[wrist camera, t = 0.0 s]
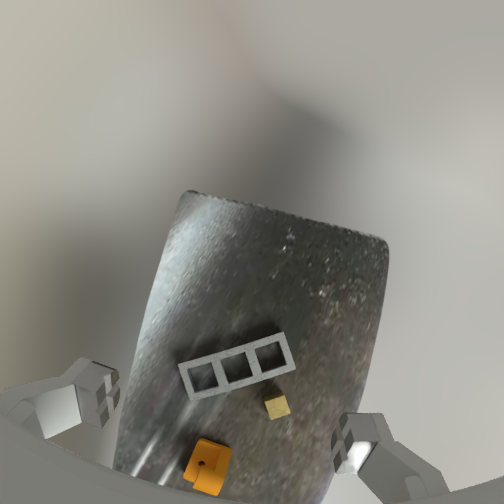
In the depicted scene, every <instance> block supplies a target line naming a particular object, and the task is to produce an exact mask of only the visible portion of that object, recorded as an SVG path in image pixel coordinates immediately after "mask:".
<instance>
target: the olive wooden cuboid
mask: <svg viewBox="0 0 504 504" xmlns="http://www.w3.org/2000/svg"><path fill="white" fill-rule="evenodd" d="M263 399H264V402H265V404H266V407H267V410H268V413H269V416H270V418H271V420H272V419H275V418H278V417H281V416H284V415H287V414H290V410H289V407H288V404H287V401H286V398H285V395H284V394H283V393H282V391H280V392H277V393H274V394H271V395H268V396H265V397H263Z"/></svg>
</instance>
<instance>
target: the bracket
mask: <svg viewBox="0 0 504 504" xmlns="http://www.w3.org/2000/svg"><path fill="white" fill-rule="evenodd" d="M231 453H232V449H231V448H228V447H226V446H223V445H220V444H217V443H215V442H212V441H209V440H207V439H204V438H200V439H199V440H198V442H197V444H196V446H195V449H194V451H193V454H192V456H191V458H190V461H189V463H188V466H187V468H186V470H185V473H184V475H183V476H184V478H185V479H186V480H189V481H191V482H194V485H193V488H194V489H197V490H200V491H203V492H206V493H208V494H211V495H214V496H217V495H218V493H219V491H220V489H221V487H222V485H223V482H224V479H225V475H226V472H227V468H228V464H229V461H230V457H231ZM201 461H203V462H204V463H203V462H201Z"/></svg>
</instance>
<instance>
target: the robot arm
mask: <svg viewBox="0 0 504 504" xmlns="http://www.w3.org/2000/svg"><path fill="white" fill-rule="evenodd" d="M118 379H119V374H118V371H117V370H116V369H114V368H111V367H108V366H106V365H103V364H100V363H98V362H95V361H91V360H89V359H87V358H84V357H81V358H79V359H78V360H77V361H76V362H75V363H74V364H73V365H72V366H71V367H70V368H69V369H68V370H67V371H66V372H65V373H64V374H63V375H62V376H61V377H60V378H58V377H53V378H48V379H44V380H40V381H36V382H31V383H27V384H23V385H18V386H14V387H9V388H6V389H4V391H2V392H1V393H0V504H253V503H245V502H238V501H231V500H225V499H219V498H214V497H208V496H203V495H198V494H194V493H189V492H185V491H181V490H177V489H173V488H169V487H166V486H162V485H158V484H155V483H152V482H148V481H145V480H142V479H139V478H136V477H133V476H130V475H127V474H124V473H121V472H119V471H116V470H113V469H111V468H108V467H105V466H103V465H100V464H98V463H96V462H93V461H91V460H88V459H86V458H84V457H82V456H79V455H77V454H75V453H73V452H71V451H69V450H66V449H64V448H62V447H60V446H58V445H56V444H54V443H52V442H50V441H49V440H47V438H49V437H52V436H54V435H56V434H58V433H60V432H62V431H64V430H67V429H69V428H71V427H73V426H75V425H77V424H79V423H81V422H82V421H83V422H85V423H88V424H90V425H93V426H96V427H98V428H101V429H102V428H103V426H104V425H105V423H106V422H107V420H108V419H109V412H111V411H114V410H115V408H116V406H117V404H118V401H119V397H120V388H119V386H118V385H117V383H116V382H117V381H118ZM339 422H340V426H338V427H337V428H335V430H334V432H333V434H332V439H331V450H332V452H333V453H334V454H335V455H336V456H335V458H334V460H333V462H334V467H335V473H337V474H357V475H358V476H359V478H360V479H361V480H362V481H363V482H364V483H365V484H366V485H367V486H368V488H370V490H371V491H372V492H373V493H374V494H375V495H376V496H377V497H378V498H379V499H380V501H381V502H382V503H383V504H504V476H502V477H500V478H496V479H494V480H491V481H488V482H485V483H482V484H478V485H475V486H471V487H468V488H464V489H461V490H457V491H453V492H450V491H449V489H448V487H447V485H446V483H445V480H444V478H443V476H442V474H441V472H440V471H439V470H438V469H436V468H435V467H433V466H432V465H430V464H429V463H427V462H426V461H425V460H423V459H422V458H420V457H419V456H417V455H416V454H415V453H413V452H412V451H410V450H409V449H408V448H406V447H405V446H404V445H402V444H401V443H399V442H398V441H397V442H395V441H394V439H393V437H392V434H391V432H390V429H389V427H388V425H387V423H386V420H385V418H384V415H383V414H382V413H369V414H368V413H345V412H344V413H343V414H342V415H341V417H340V419H339Z"/></svg>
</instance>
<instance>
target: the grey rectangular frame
mask: <svg viewBox="0 0 504 504" xmlns="http://www.w3.org/2000/svg"><path fill="white" fill-rule="evenodd" d="M276 341H278V344H279V347H280V350H281V353H282V356H283V358H284V361H285V364H283V365H280V366H277V367H274V368H271V369H268V370H265V371H261V368H260V366H259V363H258V360H257V357H256V354H255V351H254V349H255V348H258V347H261V346H264V345H267V344H270V343H273V342H276ZM243 352H245V353H246V356H247V359H248V362H249V365H250V368H251V371H252V373H253V375H250V376H246V377H243V378H240V379H237V380H233V381H230V382H229V381H228V378H227V375H226V372H225V369H224V366H223V363H222V360H221V359H223V358H227V357H230V356H233V355H236V354H240V353H243ZM210 362H211V363H212V366H213V369H214V372H215V375H216V378H217V381H218V384H219V385H216V386H213V387H209V388H206V389H202V390H198V391H197V390H196V387H195V384H194V381H193V378H192V375H191V372H190V369H189V368H192V367H196V366H199V365H203V364H206V363H210ZM178 367H179V370H180V373H181V376H182V379H183V381H184V384H185V387H186V390H187V393H188V396H189V399H190V401H194V400H197V399H201V398H205V397H209V396H212V395H216V394H220V393H223V392H227V391H230V390H233V389H237V388H240V387H243V386H247V385H250V384H253V383H256V382H259V381H262V380H265V379H268V378H271V377H274V376H277V375H280V374H283V373H286V372H288V371H291V370H294V369H296V367H295V364H294V361H293V358H292V355H291V352H290V350H289V347H288V344H287V341H286V338H285V335H284V332H280V333H277V334H274V335H271V336H268V337H265V338H262V339H259V340H256V341H253V342H250V343H247V344H244V345H241V346H237V347H234V348H231V349H228V350H224V351H221V352H218V353H214V354H211V355H208V356H204V357H201V358H197V359H194V360H190V361H187V362H183V363H180V364H178Z"/></svg>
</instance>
